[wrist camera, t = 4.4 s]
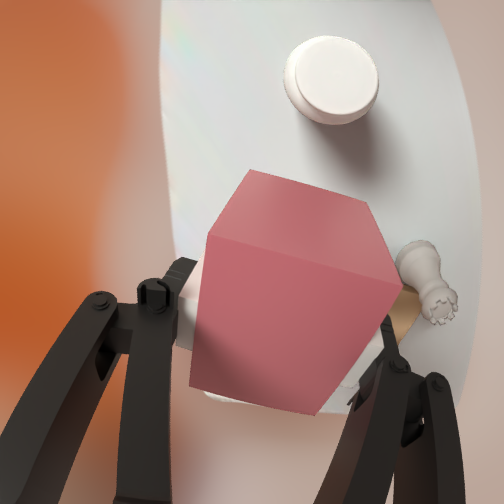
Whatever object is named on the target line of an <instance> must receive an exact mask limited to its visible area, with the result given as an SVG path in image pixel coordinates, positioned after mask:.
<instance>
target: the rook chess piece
mask: <svg viewBox="0 0 504 504" xmlns="http://www.w3.org/2000/svg"><path fill="white" fill-rule="evenodd" d="M396 269H397V272H398V274H399V275H400V277H401V279H402V280H403V282H405V283H406V284H408V285H409V286H412V287H413V288H415V289H416V290H417V292H418V293H419V301H420V303H421V304H422V309H421V313H422V315H423V317H424V318H425V319H427V320H429V321H430V322H431V323H432V324H434V325H435V324H436V323H437V322H439V324H440V325H443V324H445V319H446V318H449V319H450V321H451V320H452V319H453V318H454V317H455V316H454V314H453V311H454V312H456V311H457V310H458V306H457V299H458V296H457V294H456V292H455V291H454V290H452V289H451V288H449V286H448V284H447V282H446V281H444V280H443V279H442V277H441V274H440V256H439V254H438V252H437V251H436V249H435V247H434V245H432V244H431V243H430V242H428V241H423V240H418V241H414V242H411V243H409V244H408V245H406V246H405V247H404V248H403V249H402V250H401V252H400V253H399V254H398V257H397V260H396Z"/></svg>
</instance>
